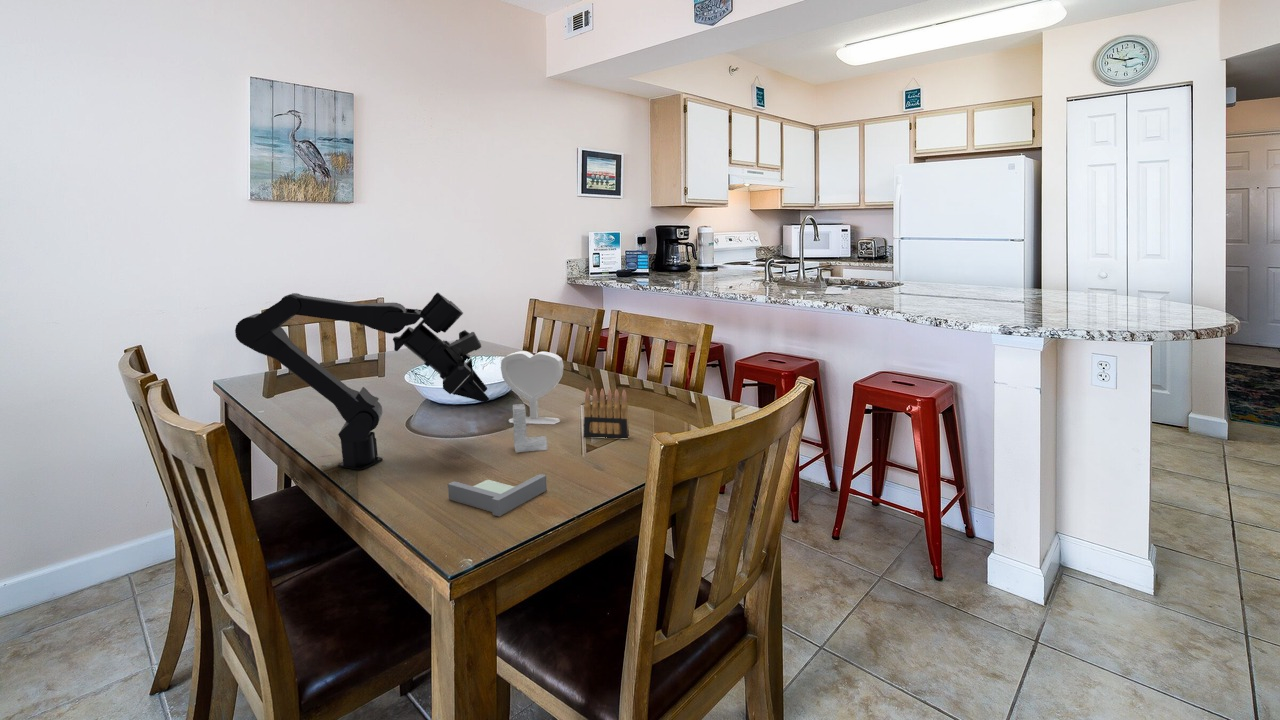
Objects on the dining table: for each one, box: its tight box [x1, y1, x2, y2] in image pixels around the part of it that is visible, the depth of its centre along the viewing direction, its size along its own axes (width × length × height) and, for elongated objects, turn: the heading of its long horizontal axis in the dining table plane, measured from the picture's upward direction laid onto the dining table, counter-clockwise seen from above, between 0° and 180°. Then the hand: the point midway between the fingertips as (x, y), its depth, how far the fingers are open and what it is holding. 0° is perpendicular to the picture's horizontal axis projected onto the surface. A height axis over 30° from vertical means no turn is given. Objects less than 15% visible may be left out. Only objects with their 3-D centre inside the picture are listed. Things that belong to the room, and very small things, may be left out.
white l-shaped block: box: [512, 403, 548, 454], centre depth 142 cm, size 7×4×10 cm, turn 105°
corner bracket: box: [447, 473, 548, 517], centre depth 117 cm, size 13×13×3 cm
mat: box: [472, 479, 515, 494], centre depth 119 cm, size 10×7×1 cm
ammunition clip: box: [583, 387, 630, 439], centre depth 149 cm, size 11×2×12 cm, turn 81°
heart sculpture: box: [500, 350, 565, 425], centre depth 162 cm, size 16×5×18 cm, turn 83°
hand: (486, 395), depth 138 cm, fingers open, 9 cm apart
